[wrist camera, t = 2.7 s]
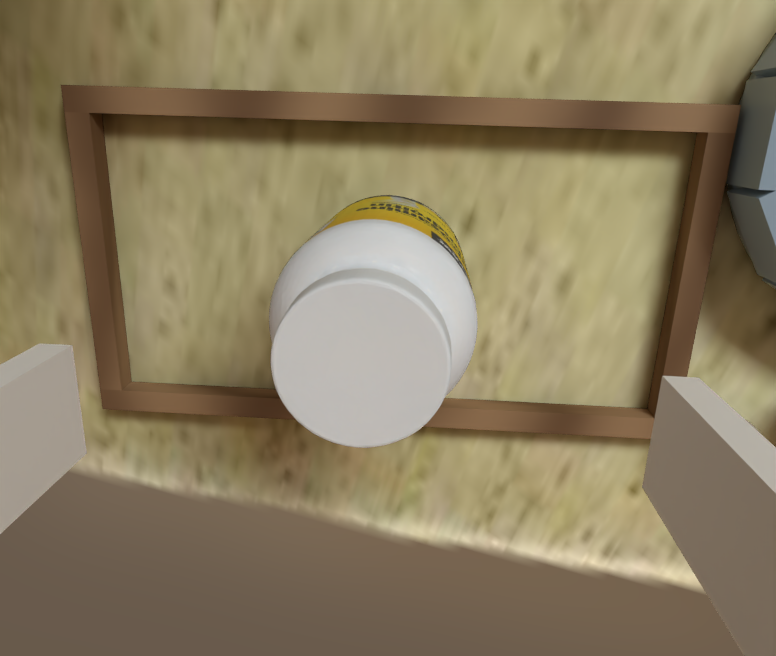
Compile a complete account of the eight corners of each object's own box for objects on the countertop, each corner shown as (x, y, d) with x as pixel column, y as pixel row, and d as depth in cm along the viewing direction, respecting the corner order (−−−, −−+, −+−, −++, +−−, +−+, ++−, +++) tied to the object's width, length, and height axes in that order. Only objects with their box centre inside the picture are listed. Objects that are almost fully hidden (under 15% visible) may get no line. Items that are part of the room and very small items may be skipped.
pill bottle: (492, 288, 27) (539, 403, 16) (370, 364, 28) (335, 519, 17) (407, 160, 25) (394, 187, 14) (284, 248, 27) (184, 335, 16)
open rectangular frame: (113, 399, 29) (102, 409, 28) (74, 86, 25) (61, 84, 24) (665, 429, 28) (674, 440, 27) (728, 106, 24) (741, 105, 23)
